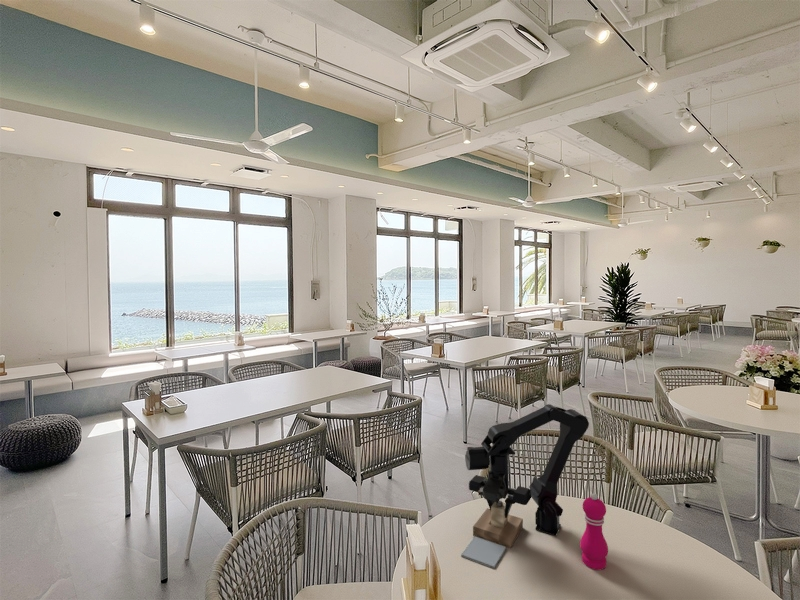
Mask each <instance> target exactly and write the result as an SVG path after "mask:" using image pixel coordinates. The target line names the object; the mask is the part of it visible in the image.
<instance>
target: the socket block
mask: <svg viewBox="0 0 800 600" xmlns="http://www.w3.org/2000/svg"><path fill="white" fill-rule="evenodd" d="M523 523H524V519H523V518H521V517H518V516H515V515H512V514H508V522H507V523H506V525H505V526H504V528H500V527H496V526H493V525H491V510H490V508H489V507H488V508H486V509H485V510H484V511H483V513H482V514H481V515H480V516H479V518H478V519H477V521H476V522H475V523H474V524H473V526H472V535H473V537H478V538H481V539H484V540H487V541H490V542H493V543H496V544H499V545H502V546H505V547H506V548H510V549H511V548H512V547H513V546H514V545H513V544H514V543H515V541H516V540H517V539H518V536H519V535H520V533H521V532H522V529H523V528H524V524H523ZM520 531H521V532H520Z"/></svg>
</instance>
